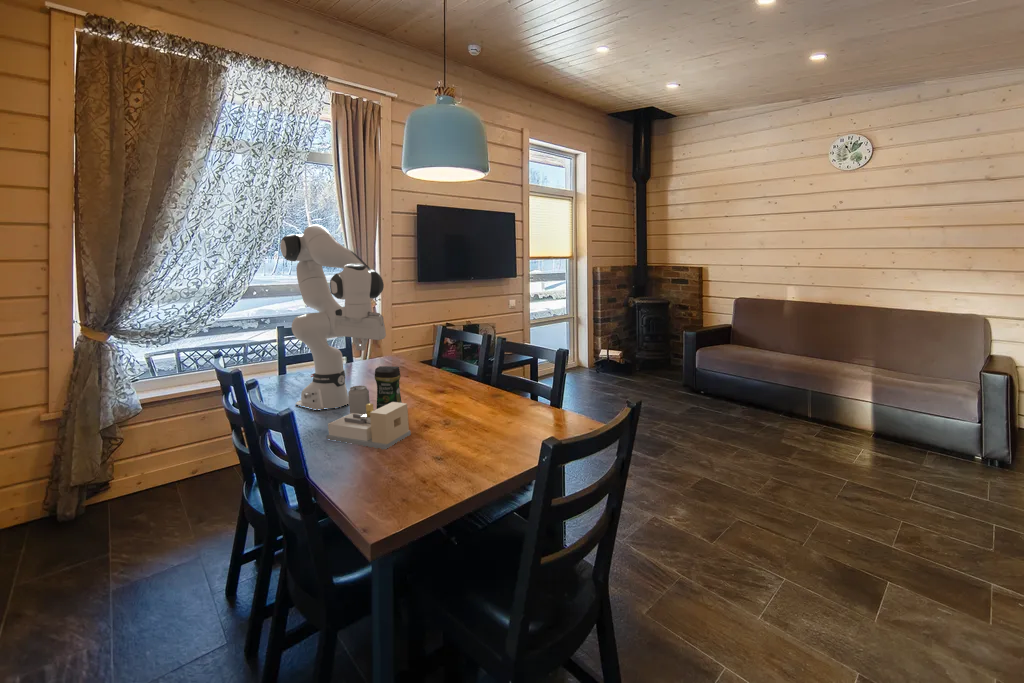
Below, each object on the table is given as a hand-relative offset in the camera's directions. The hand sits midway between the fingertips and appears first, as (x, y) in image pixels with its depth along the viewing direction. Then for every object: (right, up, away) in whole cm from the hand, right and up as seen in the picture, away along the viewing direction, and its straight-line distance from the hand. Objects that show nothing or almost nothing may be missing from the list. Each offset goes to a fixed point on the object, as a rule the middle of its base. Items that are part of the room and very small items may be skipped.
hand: (360, 350), depth 173 cm
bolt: (+7, -24, -8) cm, 26 cm away
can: (-5, -26, +16) cm, 31 cm away
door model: (+5, -30, -5) cm, 31 cm away
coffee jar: (+5, -25, +21) cm, 33 cm away
